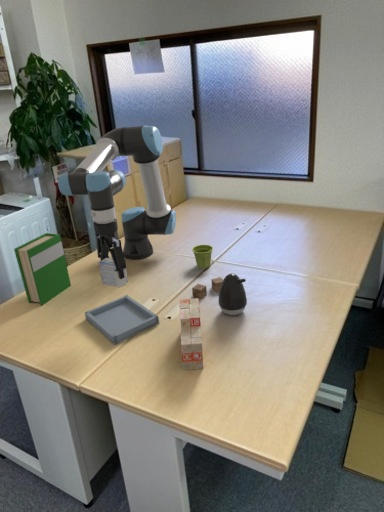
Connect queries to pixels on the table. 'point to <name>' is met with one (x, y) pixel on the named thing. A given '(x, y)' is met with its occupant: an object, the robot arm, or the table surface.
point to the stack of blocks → (191, 334)
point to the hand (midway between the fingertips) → (115, 281)
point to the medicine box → (109, 272)
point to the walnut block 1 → (199, 291)
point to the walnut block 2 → (217, 283)
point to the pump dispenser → (232, 295)
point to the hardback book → (43, 268)
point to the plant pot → (203, 255)
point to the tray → (121, 319)
